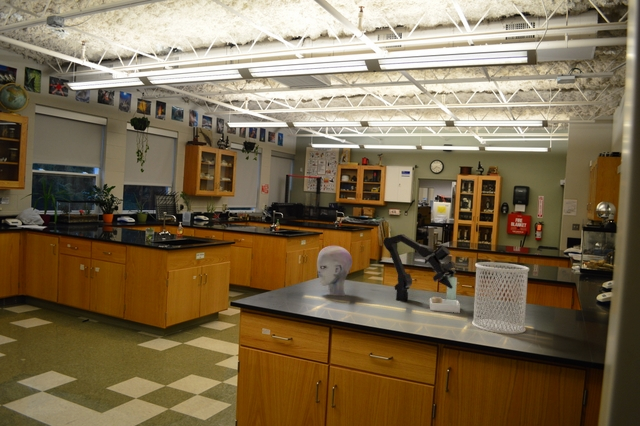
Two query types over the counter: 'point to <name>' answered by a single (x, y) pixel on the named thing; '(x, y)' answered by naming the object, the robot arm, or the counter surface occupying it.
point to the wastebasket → (496, 323)
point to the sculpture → (334, 268)
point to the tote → (445, 306)
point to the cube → (437, 300)
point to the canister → (452, 292)
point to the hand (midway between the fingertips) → (454, 287)
